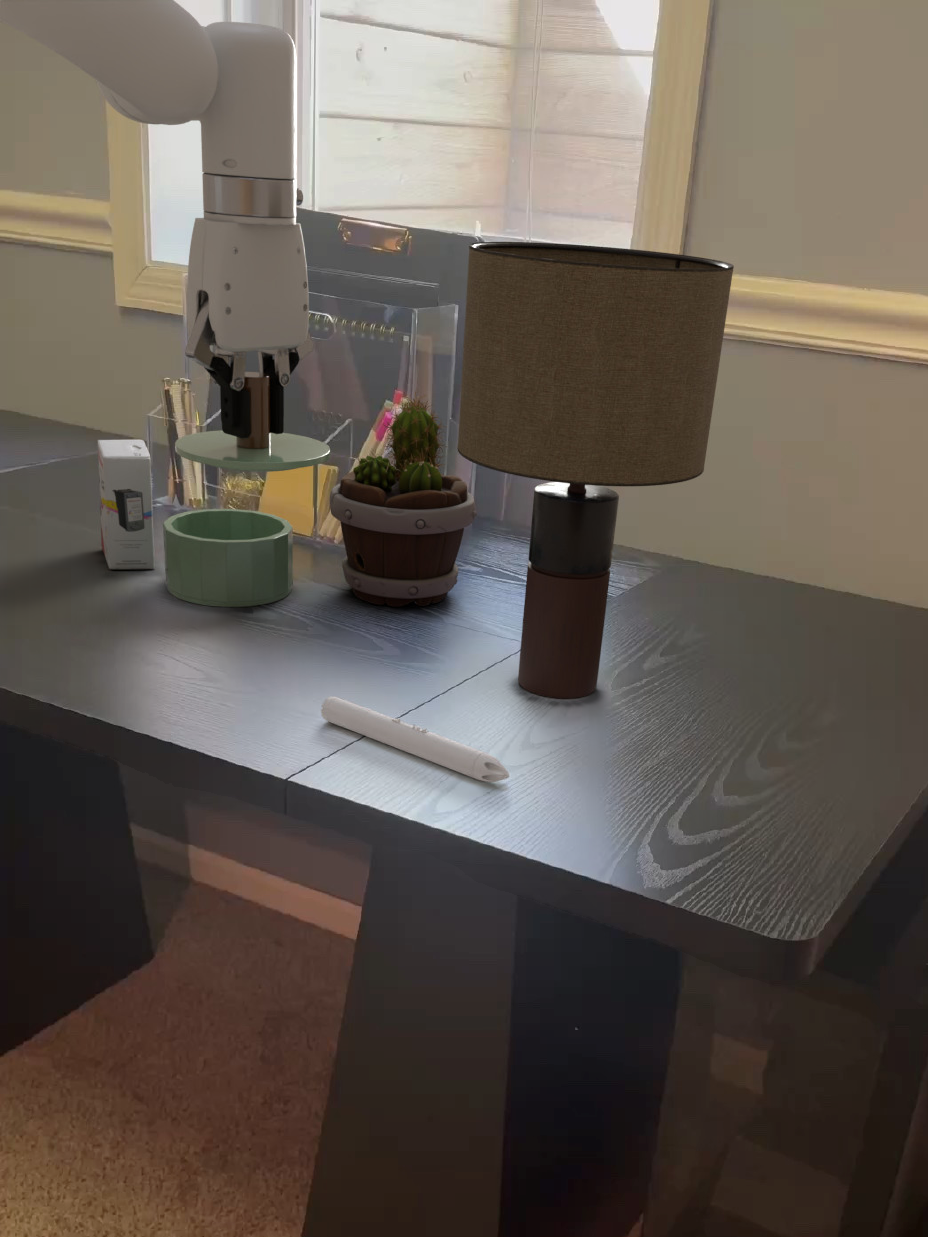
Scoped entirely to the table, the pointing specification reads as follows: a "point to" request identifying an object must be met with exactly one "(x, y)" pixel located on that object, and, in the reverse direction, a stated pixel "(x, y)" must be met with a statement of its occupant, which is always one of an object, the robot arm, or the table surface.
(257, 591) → the green round container
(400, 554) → the flowerpot
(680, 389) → the lamp
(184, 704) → the table surface
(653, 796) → the table surface
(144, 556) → the ink box
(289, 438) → the lid
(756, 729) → the table surface
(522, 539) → the table surface
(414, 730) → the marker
